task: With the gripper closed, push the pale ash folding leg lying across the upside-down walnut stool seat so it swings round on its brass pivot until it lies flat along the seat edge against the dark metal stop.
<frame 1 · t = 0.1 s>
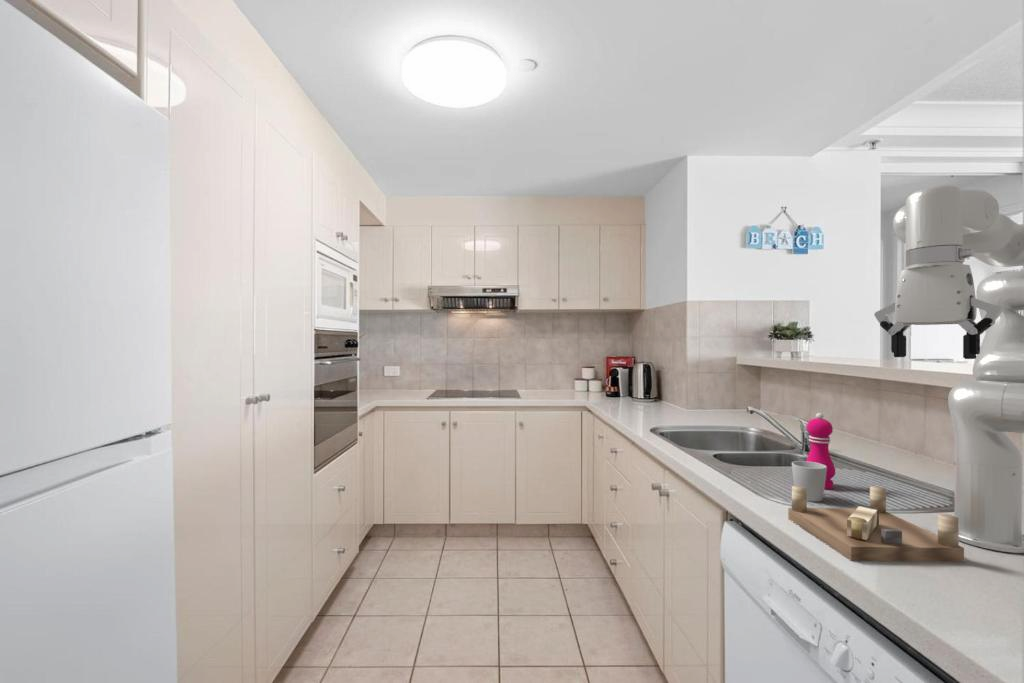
hand: (933, 357, 83), 37 cm above the countertop, tool pointing down, fingers open, 9 cm apart
stool seat: (866, 538, 95), on the countertop
folding leg: (863, 521, 93), point 4 cm above the countertop, hinge at 45.0°
pepper mill: (819, 486, 130), on the countertop
cup: (809, 497, 121), on the countertop
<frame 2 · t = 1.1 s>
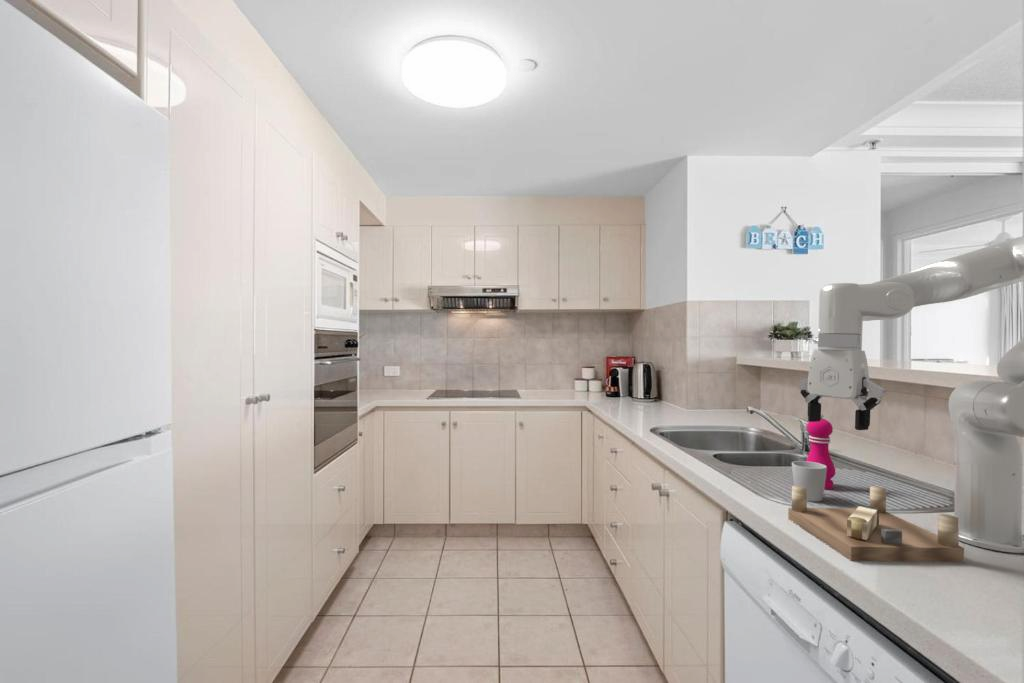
hand: (836, 425, 99), 22 cm above the countertop, tool pointing down, fingers open, 9 cm apart
nothing on the countertop moved.
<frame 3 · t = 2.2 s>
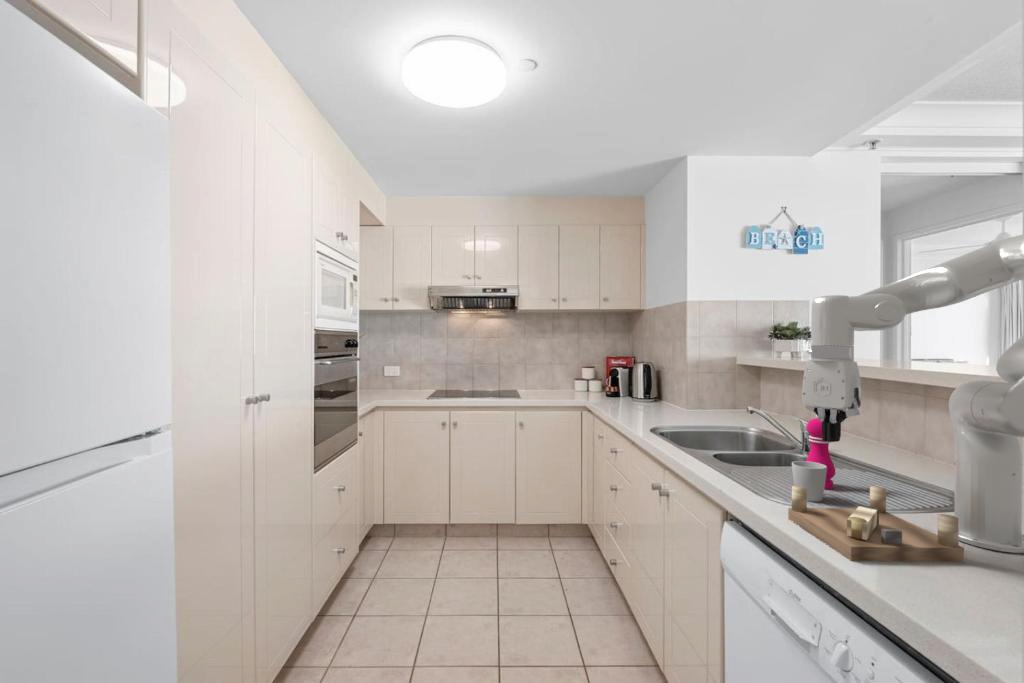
hand: (831, 440, 100), 18 cm above the countertop, tool pointing down, fingers closed
nothing on the countertop moved.
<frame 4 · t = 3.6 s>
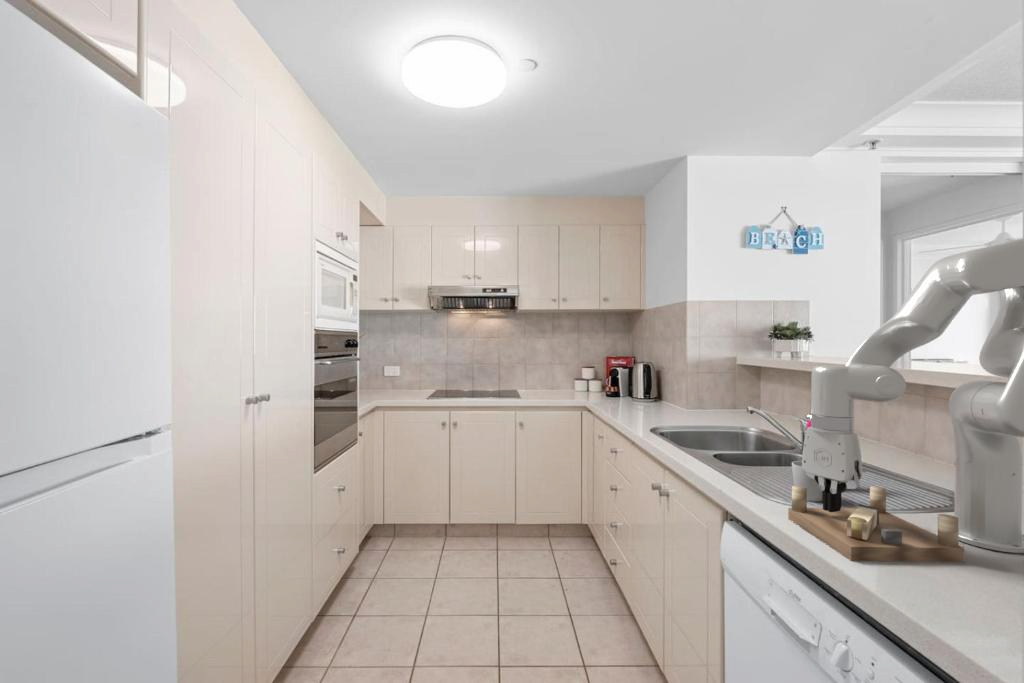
hand: (831, 510, 100), 4 cm above the countertop, tool pointing down, fingers closed
nothing on the countertop moved.
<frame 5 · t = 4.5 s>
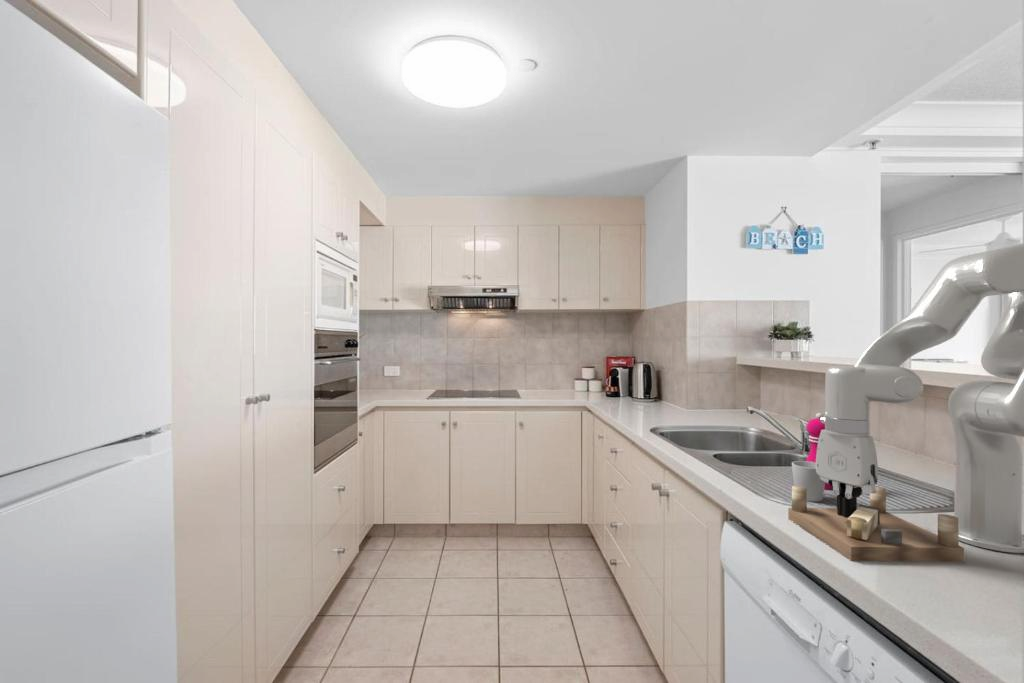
hand: (846, 515, 98), 4 cm above the countertop, tool pointing down, fingers closed
folding leg: (863, 521, 93), point 4 cm above the countertop, hinge at 44.3°, touching gripper
everything else where it was.
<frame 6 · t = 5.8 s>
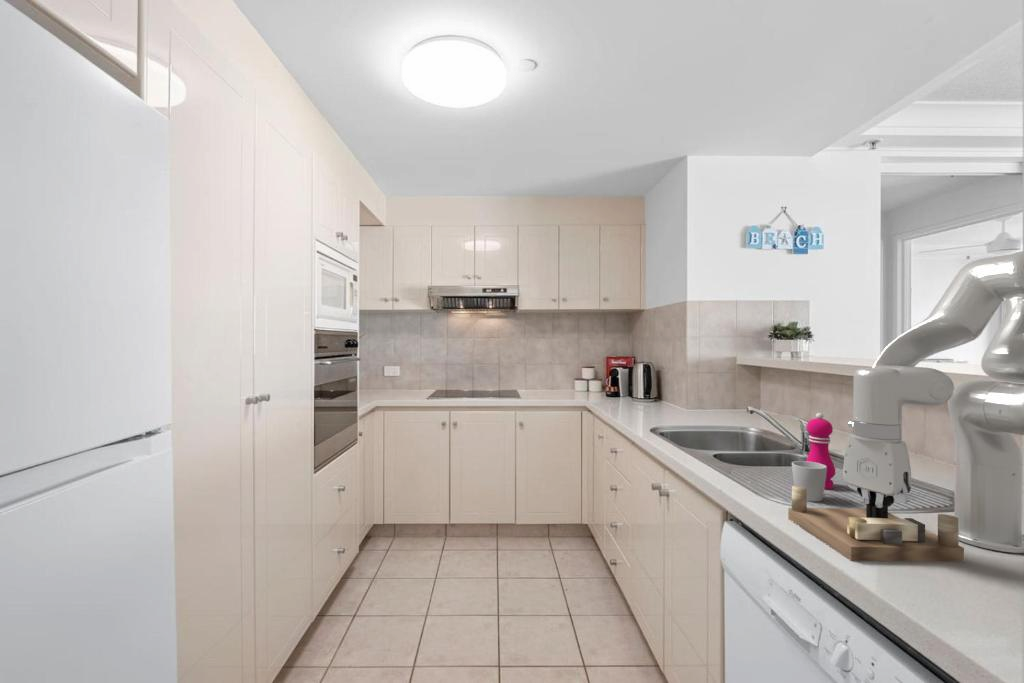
hand: (876, 525, 92), 4 cm above the countertop, tool pointing down, fingers closed
folding leg: (884, 528, 89), point 4 cm above the countertop, hinge at -2.8°, touching gripper, stool seat
everything else where it was.
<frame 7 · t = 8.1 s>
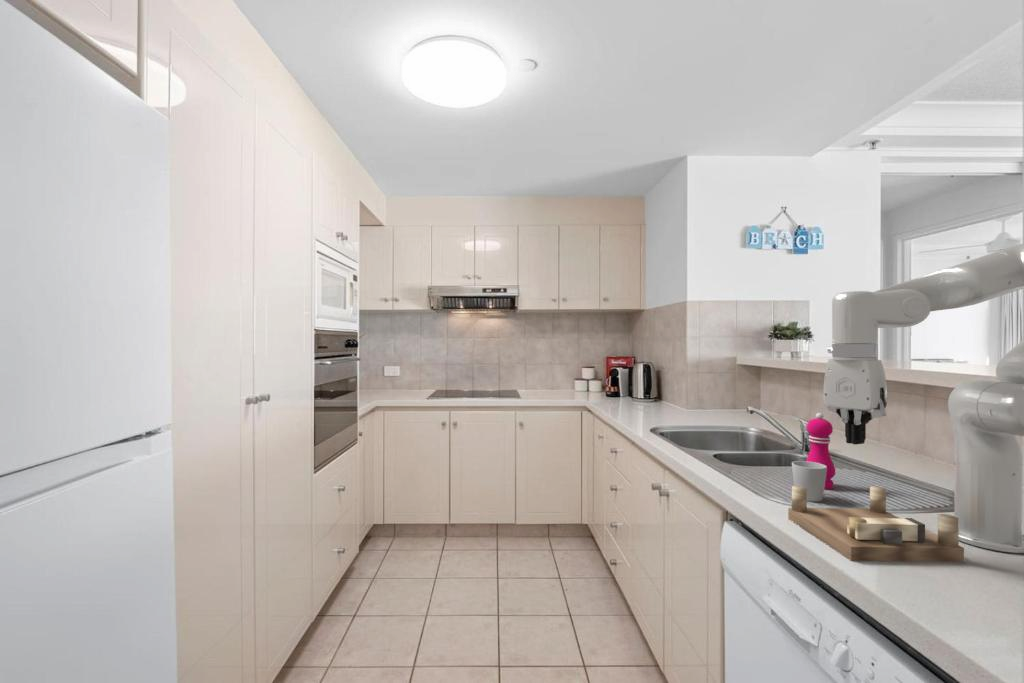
hand: (855, 443, 96), 19 cm above the countertop, tool pointing down, fingers closed
folding leg: (884, 528, 89), point 4 cm above the countertop, hinge at -2.7°
everything else where it was.
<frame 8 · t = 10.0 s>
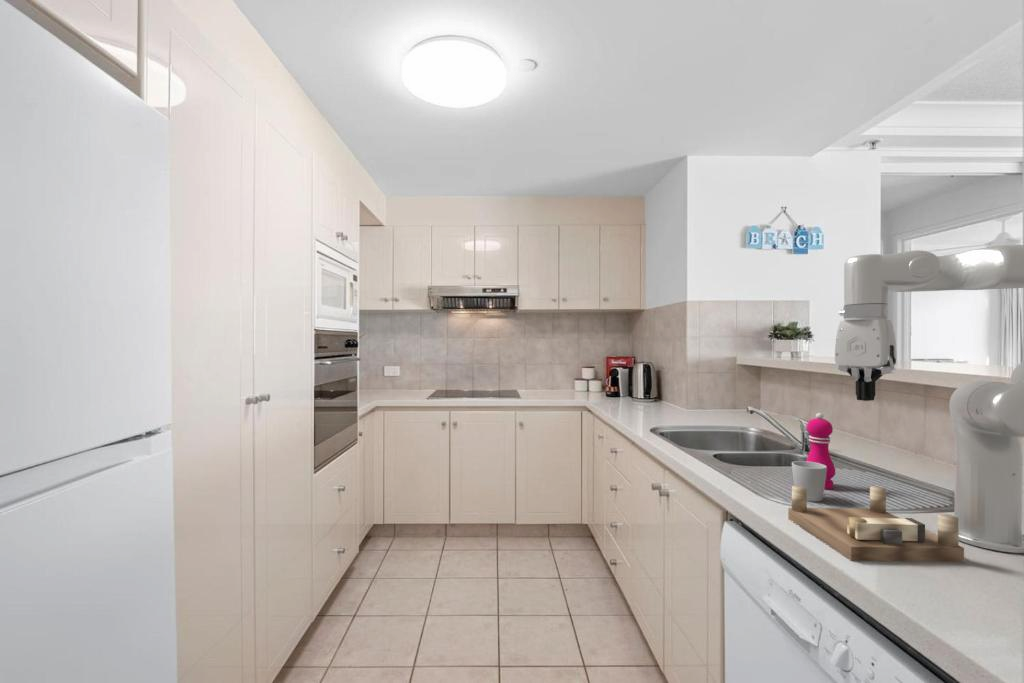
hand: (865, 399, 101), 27 cm above the countertop, tool pointing down, fingers closed
nothing on the countertop moved.
at the end: folding leg at -3° (first picture: +45°); cup moved 0.2 cm from its start; pepper mill moved 0.2 cm from its start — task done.
